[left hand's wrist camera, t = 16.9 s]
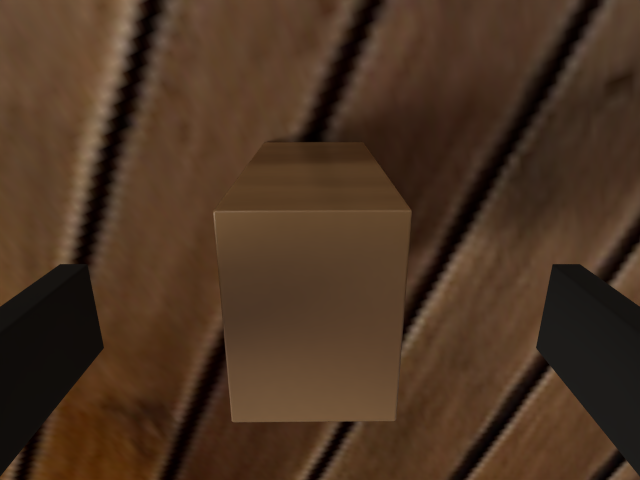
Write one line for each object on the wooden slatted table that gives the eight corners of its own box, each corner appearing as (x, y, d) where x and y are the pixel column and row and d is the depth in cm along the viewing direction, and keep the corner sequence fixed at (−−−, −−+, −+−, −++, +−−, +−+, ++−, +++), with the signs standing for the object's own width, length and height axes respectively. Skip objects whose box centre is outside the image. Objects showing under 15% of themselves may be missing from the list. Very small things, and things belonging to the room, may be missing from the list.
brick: (264, 142, 20) (212, 210, 10) (363, 142, 20) (412, 210, 10) (269, 264, 23) (231, 423, 12) (359, 264, 23) (396, 422, 12)
